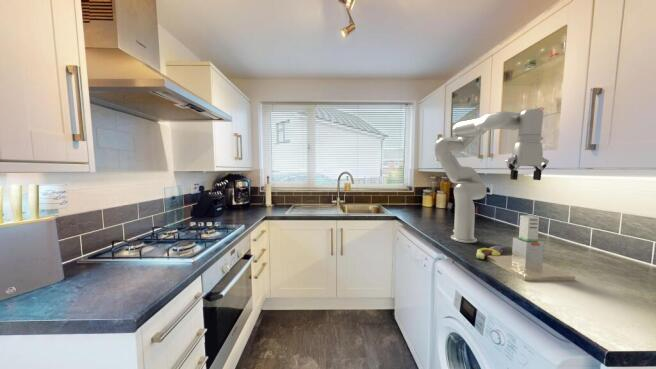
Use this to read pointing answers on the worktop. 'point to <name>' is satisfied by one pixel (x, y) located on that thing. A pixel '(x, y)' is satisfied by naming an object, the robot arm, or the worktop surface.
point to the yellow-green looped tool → (490, 251)
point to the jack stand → (529, 263)
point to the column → (529, 228)
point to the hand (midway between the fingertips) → (525, 179)
